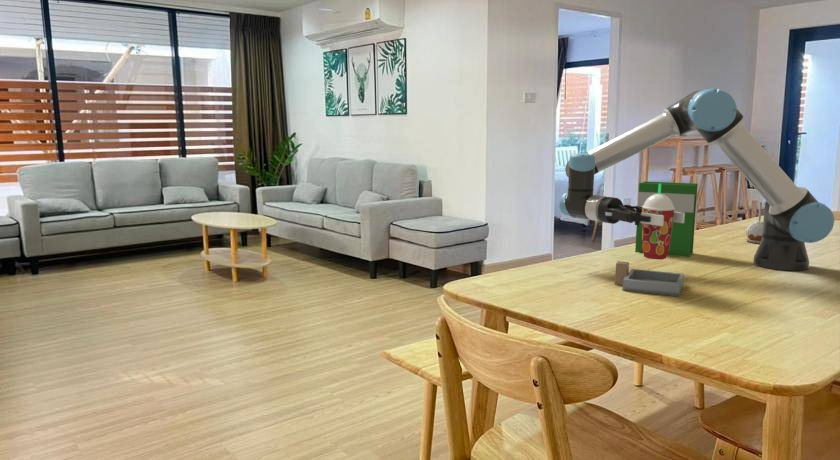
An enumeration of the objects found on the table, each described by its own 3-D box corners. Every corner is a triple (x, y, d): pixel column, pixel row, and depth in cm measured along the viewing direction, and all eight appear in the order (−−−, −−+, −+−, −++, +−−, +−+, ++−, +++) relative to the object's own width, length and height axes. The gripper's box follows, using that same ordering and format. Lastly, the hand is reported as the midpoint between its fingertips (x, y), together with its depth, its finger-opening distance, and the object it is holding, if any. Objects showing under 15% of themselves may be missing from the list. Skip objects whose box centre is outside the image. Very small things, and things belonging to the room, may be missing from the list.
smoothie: (670, 255, 176) (676, 182, 172) (672, 261, 168) (677, 185, 165) (638, 253, 178) (643, 181, 175) (638, 259, 171) (643, 184, 167)
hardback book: (692, 253, 220) (697, 183, 216) (690, 257, 213) (695, 185, 209) (639, 248, 228) (643, 181, 224) (635, 252, 222) (639, 183, 218)
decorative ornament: (765, 240, 242) (769, 201, 240) (771, 244, 235) (775, 204, 232) (743, 240, 244) (746, 201, 242) (748, 243, 237) (752, 203, 234)
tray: (683, 284, 178) (685, 263, 177) (678, 296, 165) (680, 274, 164) (620, 277, 185) (621, 257, 184) (611, 289, 173) (612, 267, 172)
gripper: (628, 219, 192) (696, 230, 174) (579, 225, 181) (646, 237, 162) (629, 194, 191) (698, 202, 172) (580, 198, 180) (648, 208, 161)
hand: (673, 219), depth 167 cm, fingers closed on smoothie, 8 cm apart
